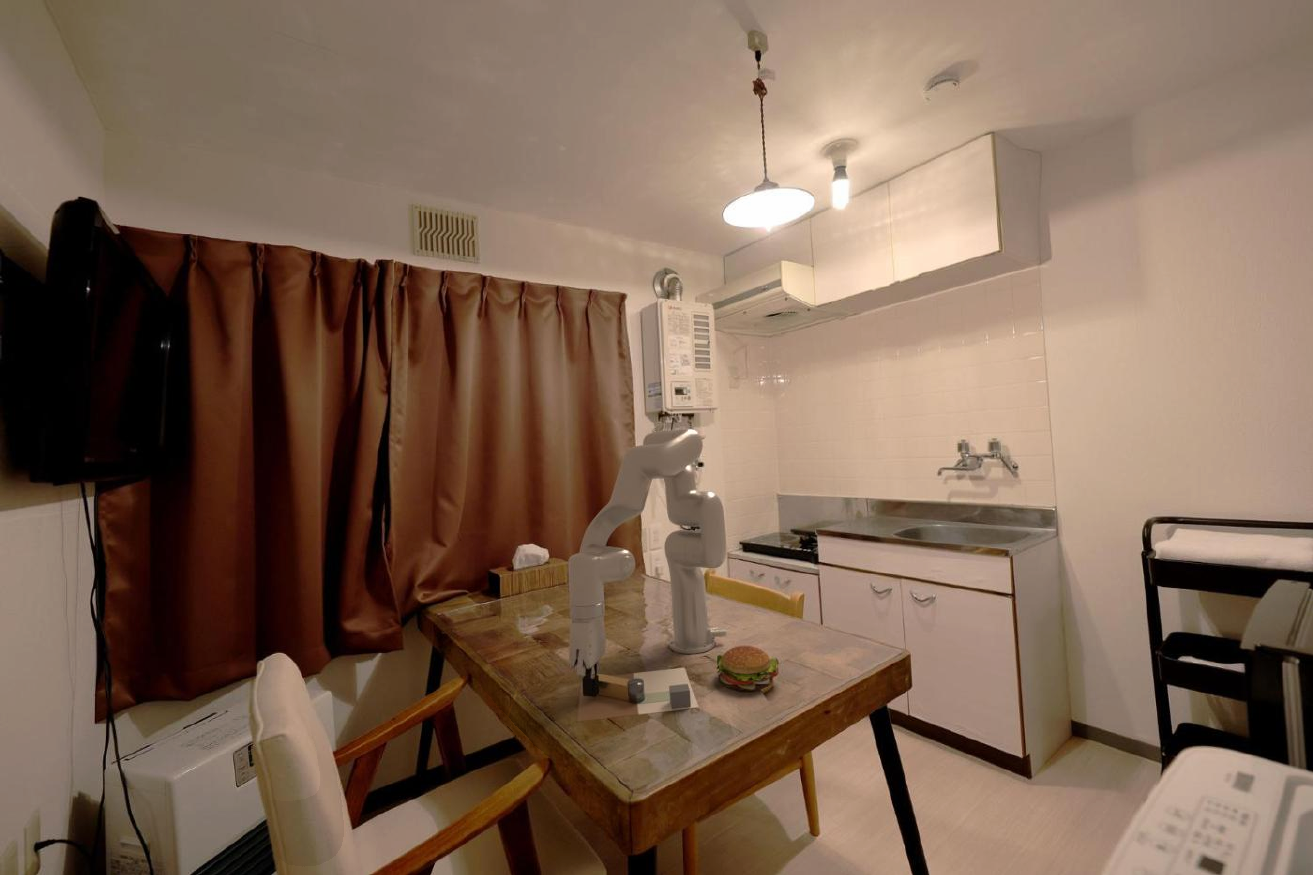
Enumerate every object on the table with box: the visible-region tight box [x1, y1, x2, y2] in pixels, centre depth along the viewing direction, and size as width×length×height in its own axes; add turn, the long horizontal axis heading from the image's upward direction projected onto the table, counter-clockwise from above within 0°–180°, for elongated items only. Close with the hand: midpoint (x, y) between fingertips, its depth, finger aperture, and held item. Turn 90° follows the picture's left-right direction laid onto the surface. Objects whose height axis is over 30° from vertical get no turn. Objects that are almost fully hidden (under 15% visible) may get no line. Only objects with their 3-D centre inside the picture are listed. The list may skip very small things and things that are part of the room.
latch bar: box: [596, 673, 645, 703], centre depth 113 cm, size 14×4×4 cm, turn 61°
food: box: [716, 645, 780, 694], centre depth 117 cm, size 14×14×8 cm
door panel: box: [576, 667, 699, 723], centre depth 114 cm, size 25×19×5 cm
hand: (591, 694), depth 112 cm, fingers closed
